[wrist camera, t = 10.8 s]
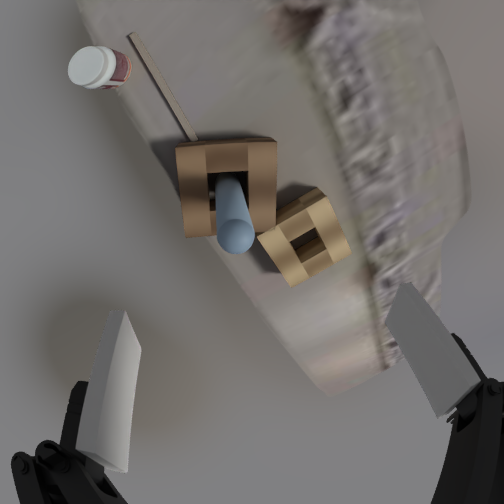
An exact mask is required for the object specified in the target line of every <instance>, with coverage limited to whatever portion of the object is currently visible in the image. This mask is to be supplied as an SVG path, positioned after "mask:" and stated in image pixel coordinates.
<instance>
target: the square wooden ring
mask: <svg viewBox="0 0 504 504" xmlns="http://www.w3.org/2000/svg"><path fill="white" fill-rule="evenodd" d="M175 152H176V162H177V172H178V182H179V191H180V199H181V207H182V214H183V222H184V230H185V236H186V238H190V237H201V236H214V235H217V226H216V200H212V201H210V197H209V184H208V173H217V172H232V171H245V186H246V198H245V201H246V205H247V208H248V211H249V215H250V218H251V221H252V225H253V228H254V232H266V231H268V230H270V229H271V228H272V229H271V230H273V227H274V228H275V226H276V186H277V141H275V140H274V139H272V138H237V139H219V140H205V141H195V142H184V143H179V144H178V145H177V146H176V148H175Z"/></svg>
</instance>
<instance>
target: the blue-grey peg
mask: <svg viewBox="0 0 504 504" xmlns="http://www.w3.org/2000/svg"><path fill="white" fill-rule="evenodd" d="M215 196H216V226H217V240H218V243H219V244H220V246H221V247H222V248H223V249H224V250H225V251H227V252H228V253H231V254H240V253H243V252H245V251H247V250H248V249H249V248H250V247H251V245H252V244H253V241H254V237H255V232H254V228H253V225H252V221H251V218H250V215H249V211H248V208H247V205H246V201H245V198H244V195H243V192H242V188H241V185H240V182H239V178H238V177H237V175H236V174H234V173H233V172H222V173H220V174H219V175H218V176H217V178H216V181H215Z"/></svg>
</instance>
